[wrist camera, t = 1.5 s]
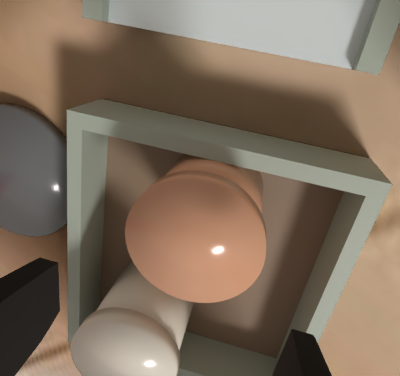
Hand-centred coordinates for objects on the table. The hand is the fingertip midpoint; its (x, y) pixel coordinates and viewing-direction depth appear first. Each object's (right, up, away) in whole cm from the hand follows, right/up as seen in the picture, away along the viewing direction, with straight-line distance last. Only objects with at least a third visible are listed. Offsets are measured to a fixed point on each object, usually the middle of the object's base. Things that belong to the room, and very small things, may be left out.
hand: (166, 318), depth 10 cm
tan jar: (+2, +4, +9) cm, 10 cm away
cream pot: (-2, -3, +13) cm, 13 cm away
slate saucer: (-11, +5, +12) cm, 17 cm away
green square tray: (+1, 0, +11) cm, 12 cm away
